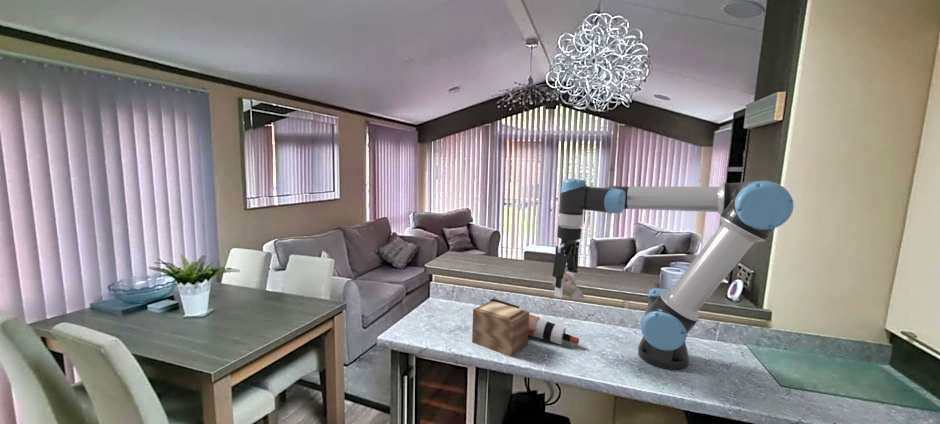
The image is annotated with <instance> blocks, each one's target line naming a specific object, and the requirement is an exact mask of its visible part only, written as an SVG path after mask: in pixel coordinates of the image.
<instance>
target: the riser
mask: <svg viewBox="0 0 940 424" xmlns="http://www.w3.org/2000/svg"><path fill="white" fill-rule="evenodd" d="M529 314H530V311H526V310H523V309H522V308H520V307H519V308H515V307H512V306H508V305H505V304H501V303H498V302H493V301H490V300H489V301H488V302H486V303H484V304H482V305H480V306H477V307H476V308H473V309H472V332H471V333H472V334H471V335H472V336H471V338H472V339H471V343H473V344H476V345H478V346H482V347H483V346H484V348H487V349H489V350H492V351H494V352H497V353H500V354H502V355H506V356H508V357H511V358H512V357H513V356H514V355H516V354H517V353H519V352H520V351H522V350H523V349H524V348H526V347H527V346H528V345H529V335H528V329H529Z"/></svg>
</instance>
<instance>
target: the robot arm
mask: <svg viewBox="0 0 940 424" xmlns="http://www.w3.org/2000/svg"><path fill="white" fill-rule="evenodd" d="M559 201H560V202H559V213H558V215H557V218H558V225H559V226H558V227H557V231H556V233H557V234H556V235H557V238H559V239H560V244H559V245H556V246H555V255H554V262H553V269H552V273H551V274H552V275H551V276H552V277H553V278H554V280H555V290H554V289H553V296H554V297H556V298H560V299H563V297H564V295H563V288H564V278H563V276H564V273H566V274H568V275H570V276H571V277H572V279H573V280H574V281H575V274H577V273H578V272H579V271H578V269H579V253H580V251H579V248H580V241H579V240H581V238H582V227H583V221H584V219H583V218H584V211H590V212H591V211H593V212H601V213H607V214H611V215H612V214H616V215H617V214H618V215H619V214H622V213H623V212H624V210H649V211H650V210H652V211H654V210H655V211H673V212H674V211H676V212H679V211H680V212H681V211H682V212H705V213H706V212H707V213H712V212H713V213H718V214H720V216H719V218H720V221H721V224H720V226H719V227H718V228H717V229H716V231H715V232H714V233H713V235H712V236H711V237H710V239H709V240H708V241H707V243H706V244H705V245H704V246H703V247H702V249H701V250H700V252H699V253H698V254H697V256H695V258H694V259H693V261H692V262H691V263H690V264H689V266H688V267H687V268H686V270H684V272H683V273H682V274H681V276H680V277H679V279H678V280H677V281H676V282H675V284H674V285H673V286H672V288H671V289H667V288H654V287H653V288H651V289H649V292H648V295H647V297H648V301H647V307H646V309H645V312H644V314H643V317H642V318H641V321H640V329H641V334H642V338H641V340H640V342H639V344H638V348H637V355H638V356H639V358H640V359H641V360H643V361H644V362H646V363H648V364H649V365H652V366H655V367H657V368H660V369H665V370H674V371H675V370H677V371H678V370H684V369H686V368H687V367H689V365H690V364H689V363H690V355H689V351H688V347H687V344H686V340H687V335H688V333H689V332H690V330H692V329H693V327H694V326H695V325H696V324H697V322H699V320H700V316H699V310H700V309H701V308H702V306H703V305H704V304H705V303H706V302H707V300H708V299H710V297H711V296H712V295H713V293H714V292H715V291H716V290H717V288H718V287H719V286H720V285H721V284H722V283H723V281H724V280H725V279H726V278H727V276H728V275H729V274H730V273H731V272H732V270H734V268H735V267H736V266H737V264H738V263H739V262H740V260H741V259H742V258H743V257H744V256H745V255H746V254H747V252H748V251H749V250H750V249H751V247H752V246H753V245H754V244H755V243H760V242H765V241H766V240H767V239H768V238H769V236H770V235H771V234H772V233H773V232H774V231H775V229H777V228H779V227H780V226H782V225H783V224H785V223H786V222H787V221H788V220H789V219H790V218H791V216H792V214H793V212H794V200H793V197H792V195H791V194H790V192H789V191H788V190H787V189H786V188H785V187H784V186H782V185H780V184H779V183H776V182H773V181H771V180H763V179H762V180H760V179H759V180H755V179H754V180H750V181H741V182H729V183H728V182H727V183H726V182H723V183H722V184H720V185H719V186H645V185H644V186H642V185H641V186H638V185H637V186H631V185H630V186H624V185H623V186H618V185H610V186H607V187H595V186H588V185H587V182H586V180H584V179H578V178H565V179H563V180H562V183H561V188H560V199H559ZM566 266H567V267H566ZM566 268H567V271H566ZM565 271H566V272H565ZM555 278H556V279H555Z"/></svg>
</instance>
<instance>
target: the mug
mask: <svg viewBox="0 0 940 424" xmlns="http://www.w3.org/2000/svg"><path fill="white" fill-rule="evenodd" d="M563 278H564V288H563V296H565V297H569V298H570V299H572V300H573V301H578V300H579V299H585V295H584V294H583V292H582V290H581V289H580V288H579V287H578V286H577V284H576V283H575V279H574V280H573V279H572V277H571V276H570V275H568V274H566V272H564V276H563ZM555 279H556V277H554V280H553V282H552V288H553V291H554V290H555Z"/></svg>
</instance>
